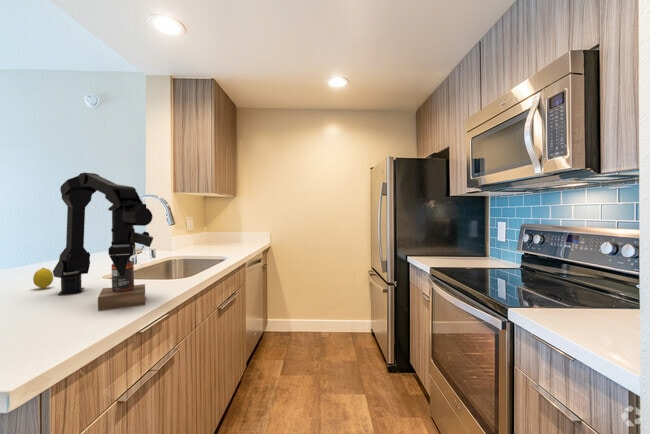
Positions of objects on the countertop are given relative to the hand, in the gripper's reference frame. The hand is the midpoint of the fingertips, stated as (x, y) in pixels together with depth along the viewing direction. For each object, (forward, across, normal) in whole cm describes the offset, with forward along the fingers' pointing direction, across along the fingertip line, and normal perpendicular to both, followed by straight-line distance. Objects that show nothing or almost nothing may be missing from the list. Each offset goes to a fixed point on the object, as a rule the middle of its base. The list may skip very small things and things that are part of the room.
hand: (123, 273), depth 97 cm
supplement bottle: (+6, 0, 0) cm, 6 cm away
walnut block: (+10, 0, 0) cm, 10 cm away
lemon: (+10, +35, +27) cm, 45 cm away
